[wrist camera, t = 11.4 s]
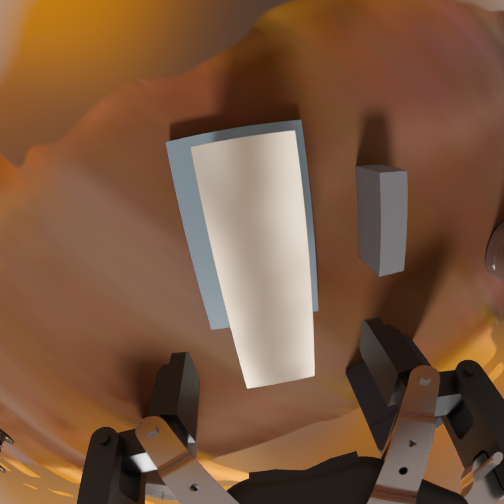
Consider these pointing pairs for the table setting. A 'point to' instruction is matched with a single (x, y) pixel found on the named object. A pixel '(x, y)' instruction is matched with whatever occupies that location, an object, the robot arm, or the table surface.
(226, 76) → the table surface
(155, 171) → the table surface
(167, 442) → the robot arm
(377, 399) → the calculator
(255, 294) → the shelf board
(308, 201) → the peg stand
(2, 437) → the candlestick
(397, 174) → the block
